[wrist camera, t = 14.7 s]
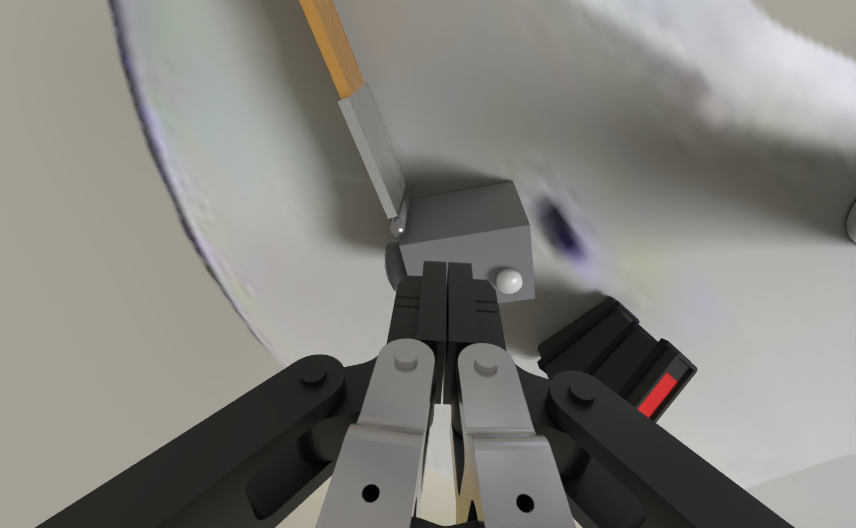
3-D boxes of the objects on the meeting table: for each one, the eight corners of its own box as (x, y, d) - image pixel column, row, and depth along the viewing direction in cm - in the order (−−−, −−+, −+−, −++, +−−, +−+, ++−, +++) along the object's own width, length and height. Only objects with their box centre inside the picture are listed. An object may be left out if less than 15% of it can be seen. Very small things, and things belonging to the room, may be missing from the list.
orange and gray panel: (414, 195, 37) (406, 235, 30) (402, 199, 37) (392, 240, 31) (326, -37, 28) (287, -53, 21) (311, -30, 28) (268, -44, 21)
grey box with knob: (512, 180, 36) (531, 229, 28) (518, 244, 40) (537, 304, 32) (386, 203, 38) (369, 255, 30) (403, 262, 42) (392, 323, 34)
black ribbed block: (516, 368, 48) (596, 451, 33) (583, 283, 47) (693, 330, 33) (536, 383, 49) (622, 468, 35) (602, 300, 48) (715, 352, 34)
